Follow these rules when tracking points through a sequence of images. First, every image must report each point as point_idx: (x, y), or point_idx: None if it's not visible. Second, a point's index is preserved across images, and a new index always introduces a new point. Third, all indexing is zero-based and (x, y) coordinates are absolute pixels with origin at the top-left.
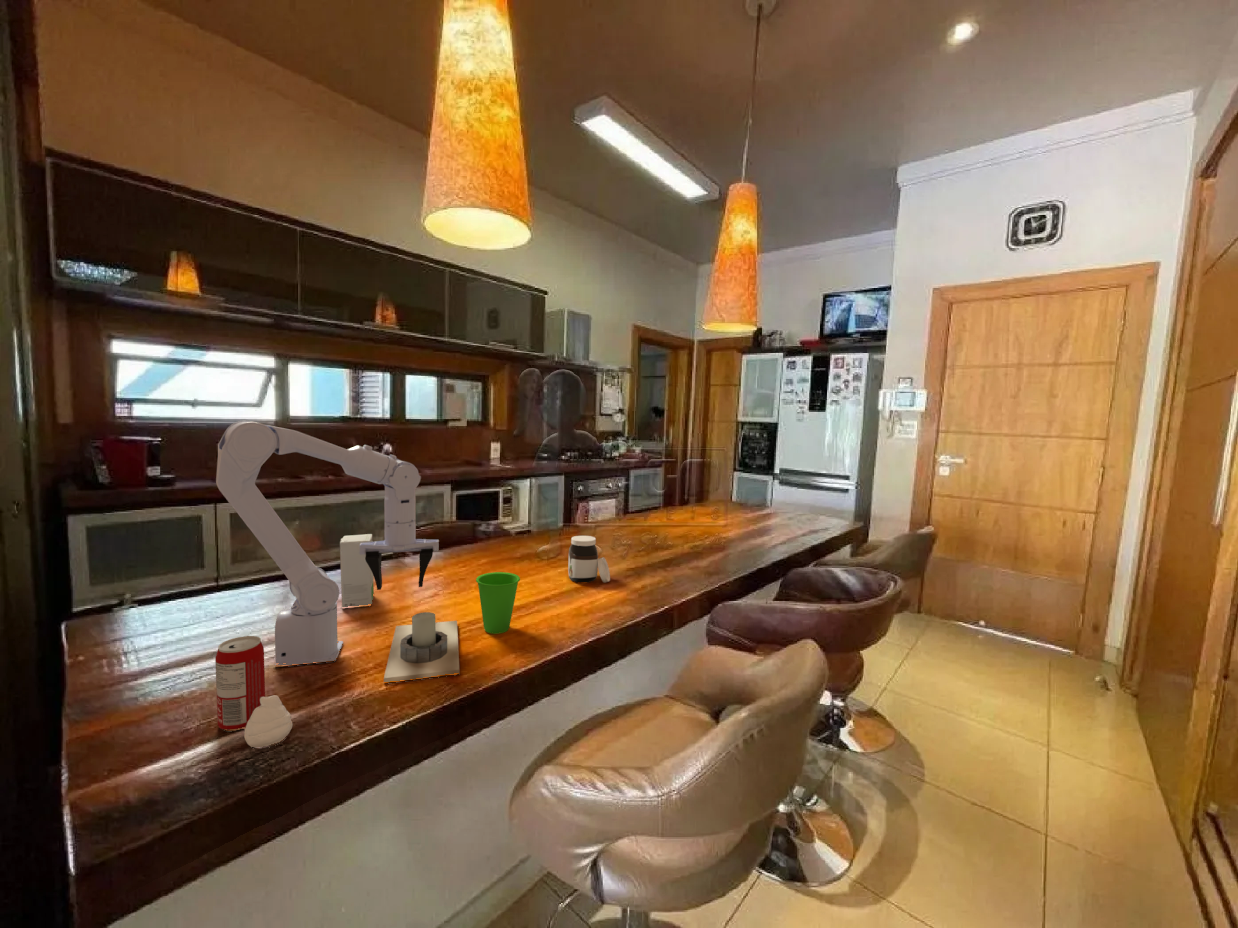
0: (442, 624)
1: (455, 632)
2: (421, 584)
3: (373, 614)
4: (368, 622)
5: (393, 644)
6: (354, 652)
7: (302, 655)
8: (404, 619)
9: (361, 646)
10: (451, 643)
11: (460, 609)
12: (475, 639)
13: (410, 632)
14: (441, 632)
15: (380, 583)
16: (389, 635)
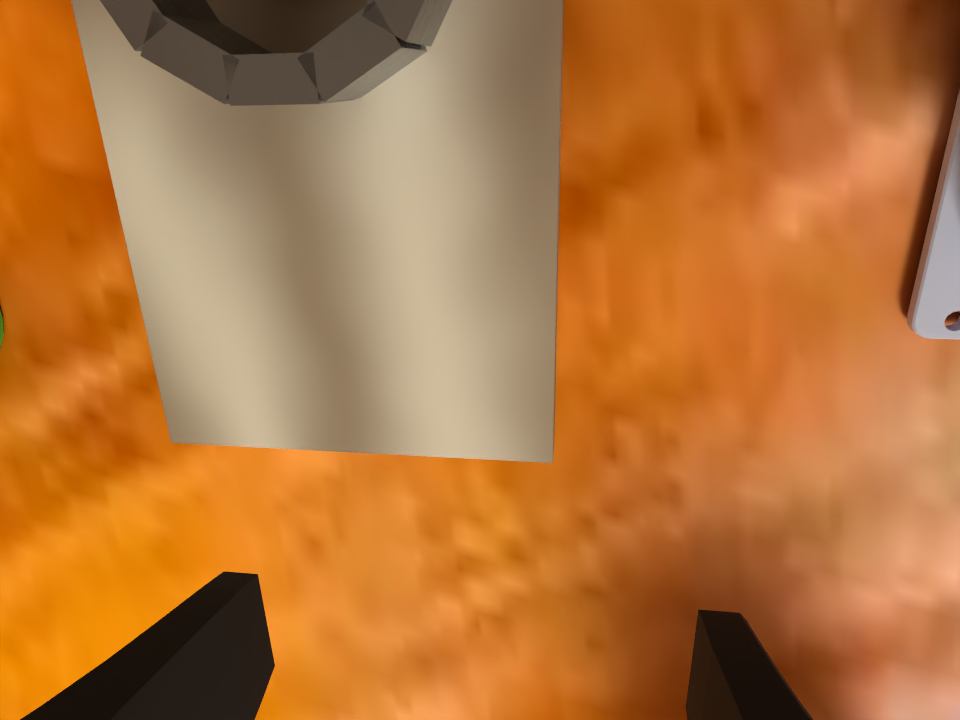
0: (250, 406)
1: (141, 252)
2: (207, 586)
3: None
4: None
5: (546, 141)
6: (824, 158)
7: None
8: (515, 595)
9: (774, 254)
10: (127, 55)
11: None
12: (27, 178)
13: (444, 330)
14: (131, 34)
15: (717, 670)
16: (591, 387)
